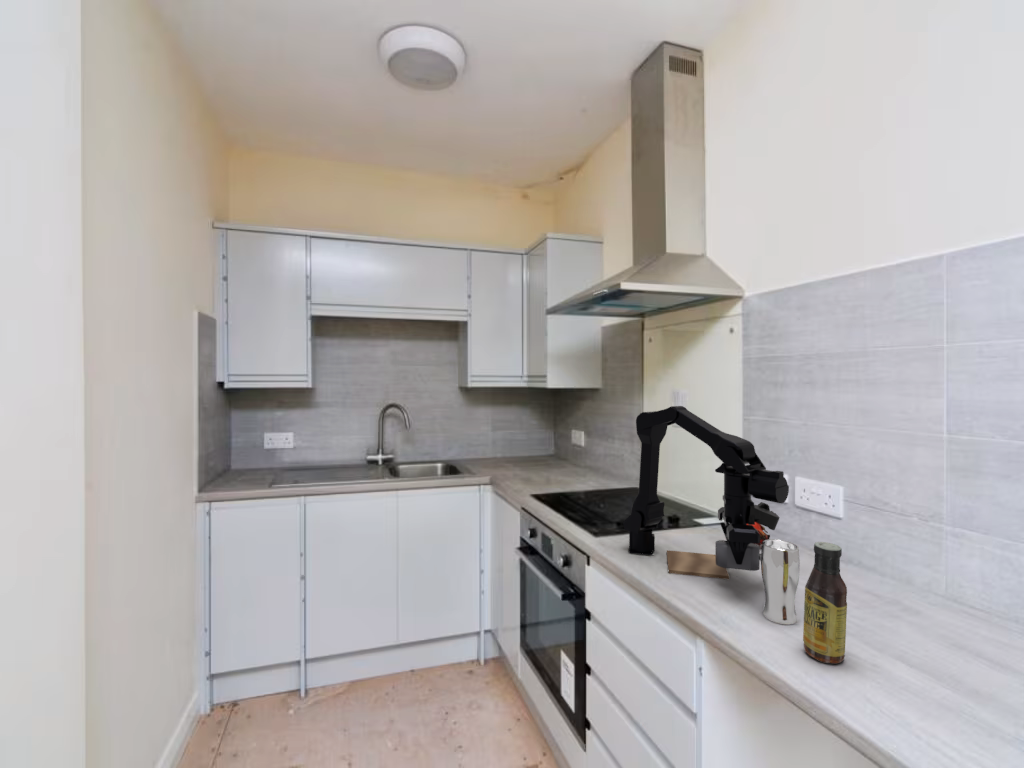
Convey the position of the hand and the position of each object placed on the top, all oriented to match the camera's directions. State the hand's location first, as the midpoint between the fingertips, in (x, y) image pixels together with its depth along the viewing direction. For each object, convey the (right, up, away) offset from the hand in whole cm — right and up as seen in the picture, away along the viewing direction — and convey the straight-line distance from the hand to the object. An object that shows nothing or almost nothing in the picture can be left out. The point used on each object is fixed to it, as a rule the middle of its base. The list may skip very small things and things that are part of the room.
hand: (737, 560), depth 112 cm
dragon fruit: (+17, -6, +28) cm, 34 cm away
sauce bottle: (+2, -7, -28) cm, 28 cm away
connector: (+1, -1, 0) cm, 2 cm away
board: (-5, -6, +13) cm, 15 cm away
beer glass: (+2, -7, -14) cm, 16 cm away
